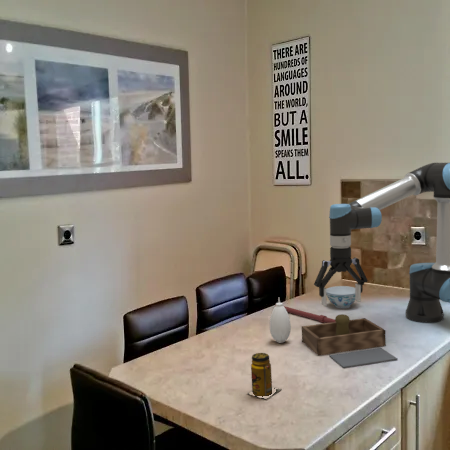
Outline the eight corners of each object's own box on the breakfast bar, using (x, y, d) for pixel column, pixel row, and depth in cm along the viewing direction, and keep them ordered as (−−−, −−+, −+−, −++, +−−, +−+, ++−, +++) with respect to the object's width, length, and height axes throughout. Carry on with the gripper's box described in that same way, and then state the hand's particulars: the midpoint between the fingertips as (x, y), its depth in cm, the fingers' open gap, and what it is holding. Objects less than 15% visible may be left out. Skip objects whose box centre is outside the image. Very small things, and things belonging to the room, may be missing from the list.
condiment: (246, 394, 163) (244, 356, 162) (262, 384, 170) (261, 348, 168) (265, 400, 158) (264, 361, 157) (282, 390, 165) (280, 352, 163)
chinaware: (362, 310, 241) (362, 293, 240) (329, 311, 241) (328, 295, 240) (355, 301, 256) (354, 285, 255) (323, 302, 256) (322, 286, 255)
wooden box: (365, 332, 211) (364, 318, 211) (385, 345, 197) (385, 330, 196) (302, 341, 205) (301, 326, 205) (318, 355, 191) (317, 339, 190)
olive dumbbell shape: (351, 346, 197) (350, 317, 196) (334, 346, 199) (333, 317, 197) (351, 341, 203) (350, 312, 202) (334, 340, 205) (333, 312, 203)
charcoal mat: (380, 349, 194) (380, 347, 194) (397, 360, 183) (397, 358, 183) (329, 356, 189) (329, 355, 189) (343, 368, 178) (343, 366, 178)
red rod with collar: (358, 330, 215) (357, 323, 215) (353, 332, 214) (352, 324, 213) (278, 309, 250) (278, 302, 250) (273, 310, 248) (273, 304, 248)
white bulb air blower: (295, 341, 206) (293, 295, 204) (282, 347, 200) (280, 300, 198) (278, 337, 211) (277, 292, 209) (266, 343, 206) (264, 297, 203)
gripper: (312, 250, 190) (313, 309, 192) (376, 245, 195) (376, 302, 198) (304, 247, 197) (305, 303, 200) (366, 242, 203) (367, 297, 205)
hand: (341, 303), depth 199 cm, fingers open, 13 cm apart
